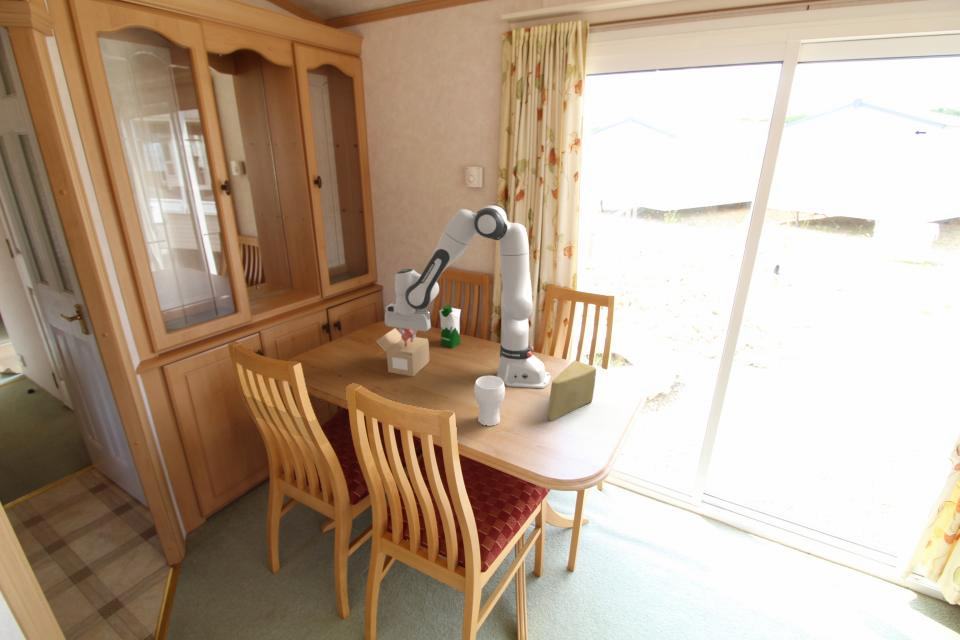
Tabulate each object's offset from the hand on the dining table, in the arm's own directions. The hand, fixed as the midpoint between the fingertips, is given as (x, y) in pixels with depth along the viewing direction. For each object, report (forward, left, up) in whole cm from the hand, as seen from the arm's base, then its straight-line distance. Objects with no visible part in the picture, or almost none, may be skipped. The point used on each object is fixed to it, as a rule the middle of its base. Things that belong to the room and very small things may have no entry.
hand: (408, 337), depth 187 cm
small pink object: (-2, 0, -4) cm, 4 cm away
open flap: (+9, 0, -2) cm, 9 cm away
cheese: (-70, +13, -14) cm, 73 cm away
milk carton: (-8, -29, -14) cm, 33 cm away
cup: (-46, +29, -14) cm, 56 cm away
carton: (0, 0, -14) cm, 14 cm away
